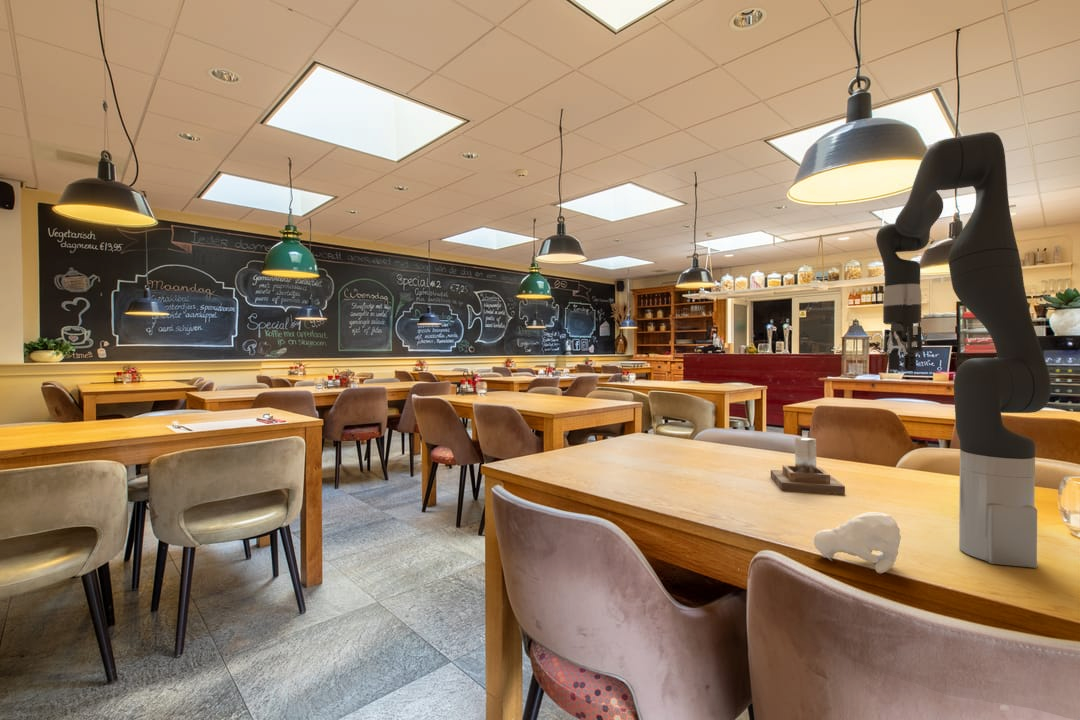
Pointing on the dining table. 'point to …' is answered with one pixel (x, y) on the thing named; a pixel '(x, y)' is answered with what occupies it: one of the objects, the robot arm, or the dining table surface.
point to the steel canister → (805, 455)
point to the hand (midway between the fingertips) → (901, 370)
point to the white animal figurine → (863, 539)
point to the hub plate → (806, 481)
